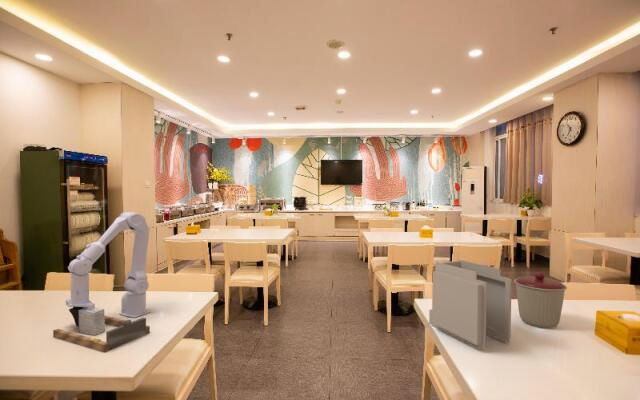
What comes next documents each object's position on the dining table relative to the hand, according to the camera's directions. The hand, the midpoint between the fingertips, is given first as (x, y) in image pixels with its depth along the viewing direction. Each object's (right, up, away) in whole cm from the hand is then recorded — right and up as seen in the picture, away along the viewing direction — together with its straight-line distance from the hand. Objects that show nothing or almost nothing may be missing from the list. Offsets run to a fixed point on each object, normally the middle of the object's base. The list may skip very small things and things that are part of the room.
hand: (80, 325), depth 127 cm
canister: (+182, -3, +10) cm, 182 cm away
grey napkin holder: (+147, -3, -3) cm, 147 cm away
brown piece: (+12, -1, -5) cm, 13 cm away
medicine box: (+6, -2, -3) cm, 7 cm away
